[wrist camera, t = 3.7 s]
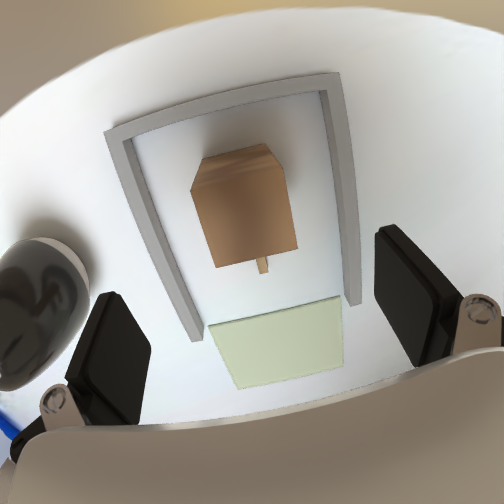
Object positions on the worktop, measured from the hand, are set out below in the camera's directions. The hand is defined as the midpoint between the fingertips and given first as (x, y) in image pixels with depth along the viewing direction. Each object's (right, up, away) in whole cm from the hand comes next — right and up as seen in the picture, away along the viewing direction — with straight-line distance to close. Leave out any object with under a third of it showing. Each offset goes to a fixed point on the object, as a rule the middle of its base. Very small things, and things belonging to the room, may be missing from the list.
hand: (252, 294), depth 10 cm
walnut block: (0, +5, +15) cm, 16 cm away
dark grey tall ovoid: (-20, 0, +16) cm, 25 cm away
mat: (+4, -10, +23) cm, 25 cm away
